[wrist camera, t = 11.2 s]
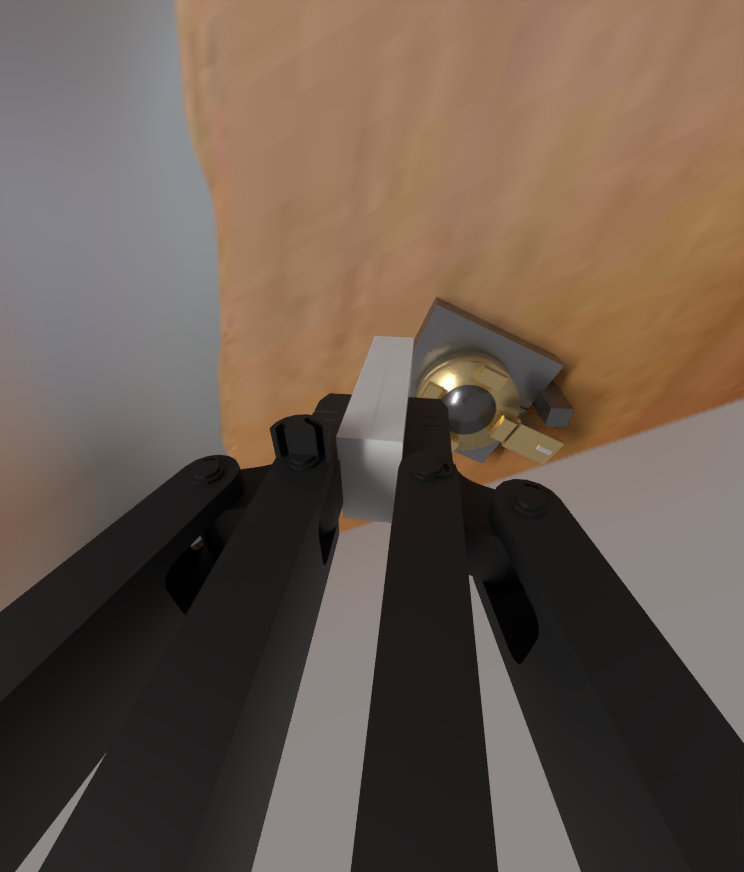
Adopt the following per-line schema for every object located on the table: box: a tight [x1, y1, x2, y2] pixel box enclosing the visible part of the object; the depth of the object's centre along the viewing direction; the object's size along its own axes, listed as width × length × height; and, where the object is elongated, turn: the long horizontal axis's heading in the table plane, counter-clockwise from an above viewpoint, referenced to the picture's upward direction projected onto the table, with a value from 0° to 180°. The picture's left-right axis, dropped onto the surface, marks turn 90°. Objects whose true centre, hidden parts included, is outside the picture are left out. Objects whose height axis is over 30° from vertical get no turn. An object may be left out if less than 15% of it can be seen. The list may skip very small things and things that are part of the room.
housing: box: [410, 298, 574, 463], centre depth 36 cm, size 14×16×7 cm
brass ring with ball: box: [416, 351, 564, 465], centre depth 34 cm, size 15×10×4 cm, turn 67°
